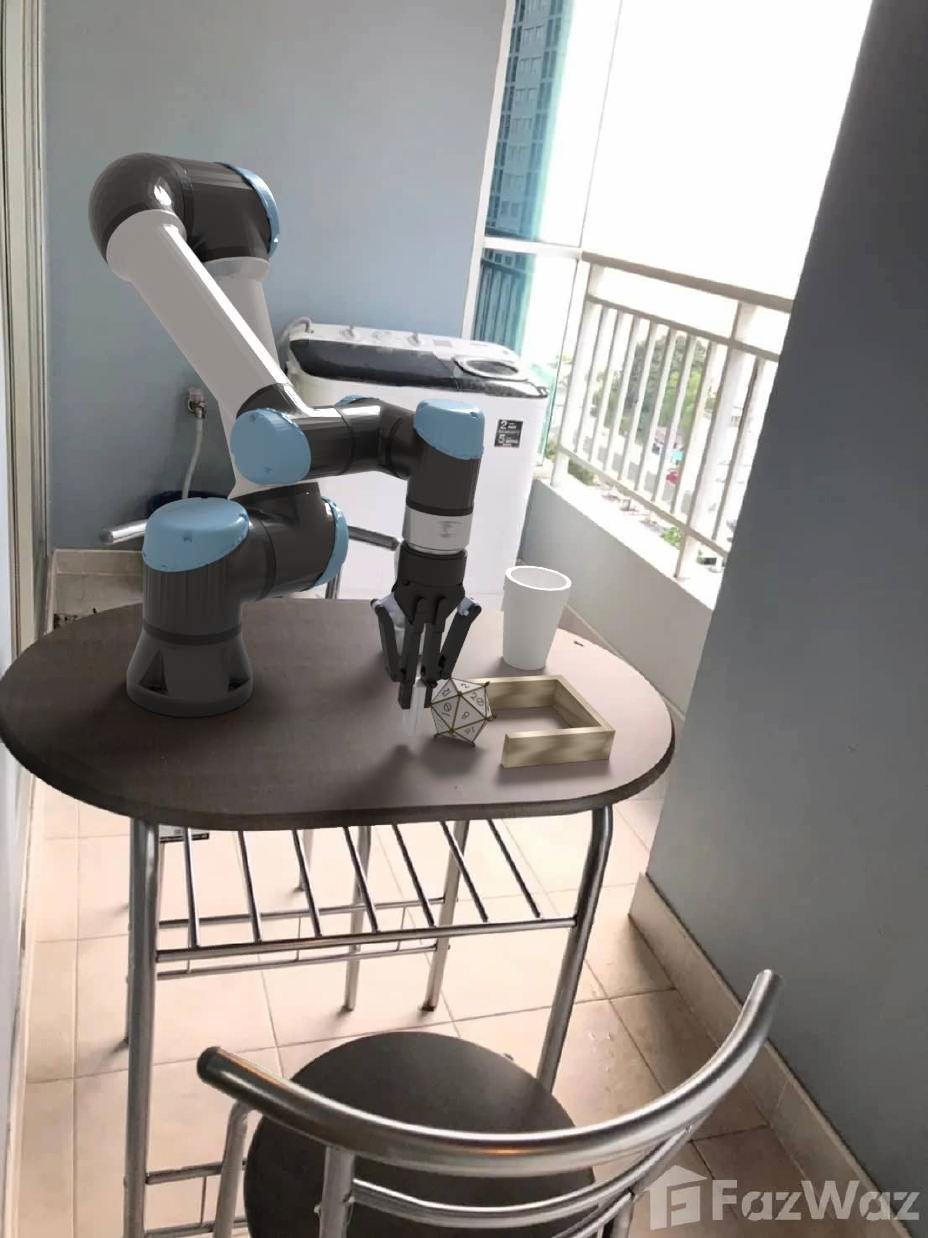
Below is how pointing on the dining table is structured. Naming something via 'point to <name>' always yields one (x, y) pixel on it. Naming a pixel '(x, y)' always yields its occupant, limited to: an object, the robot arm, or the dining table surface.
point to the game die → (461, 710)
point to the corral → (550, 746)
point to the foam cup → (532, 614)
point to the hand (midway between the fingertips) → (410, 731)
